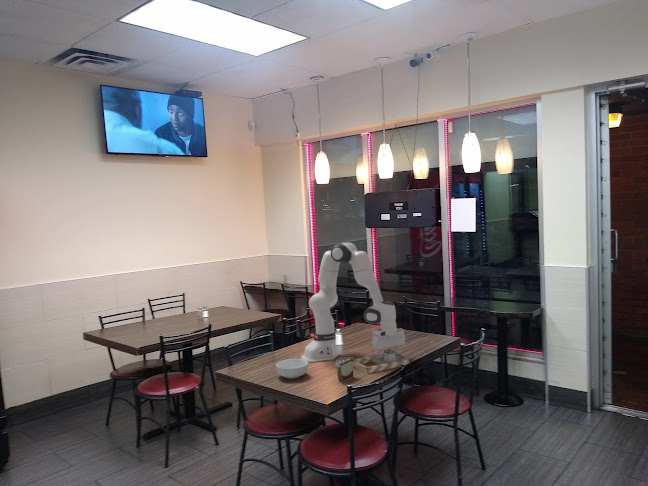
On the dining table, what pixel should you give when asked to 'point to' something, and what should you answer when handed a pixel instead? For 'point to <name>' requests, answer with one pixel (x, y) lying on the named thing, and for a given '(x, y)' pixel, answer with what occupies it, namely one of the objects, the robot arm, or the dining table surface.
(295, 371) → the cereal bowl
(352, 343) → the dining table surface
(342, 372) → the food container
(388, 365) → the divider frame
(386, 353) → the plug block
